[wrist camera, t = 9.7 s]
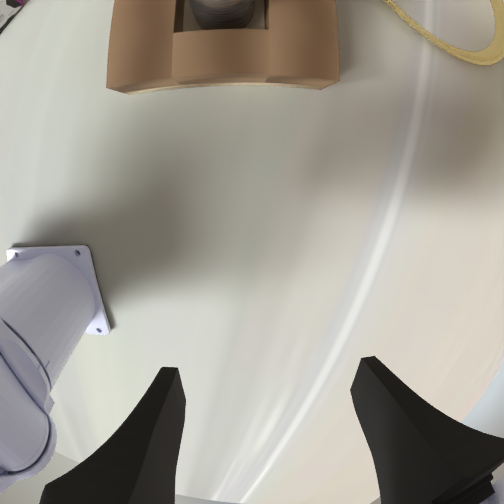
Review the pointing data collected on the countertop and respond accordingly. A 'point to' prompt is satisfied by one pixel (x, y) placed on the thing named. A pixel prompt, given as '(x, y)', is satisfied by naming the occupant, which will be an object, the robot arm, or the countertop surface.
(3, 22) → the candy bar box
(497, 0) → the yellow rubber band
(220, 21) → the pin
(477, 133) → the countertop surface
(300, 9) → the socket block
